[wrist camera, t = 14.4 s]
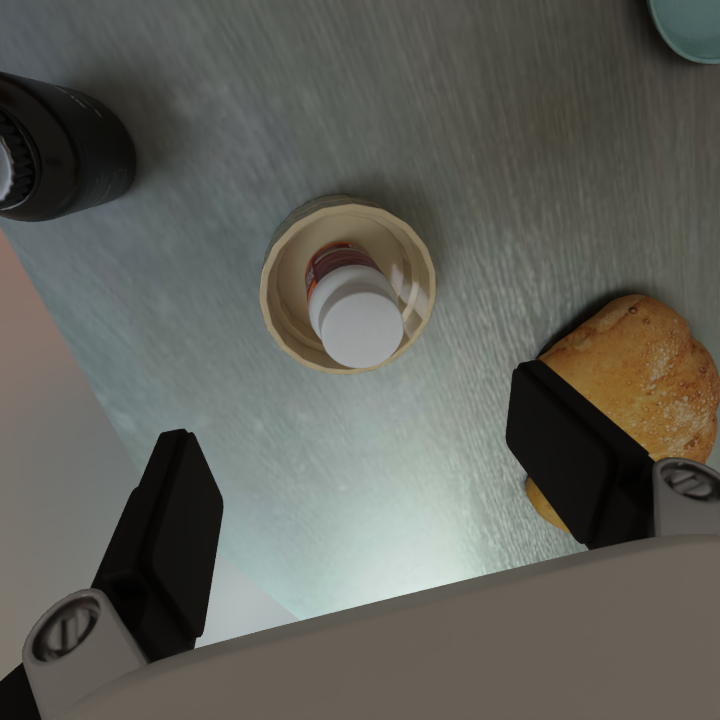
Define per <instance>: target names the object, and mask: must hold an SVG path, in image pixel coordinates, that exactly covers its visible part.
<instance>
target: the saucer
mask: <svg viewBox="0 0 720 720" xmlns="http://www.w3.org/2000/svg"><path fill="white" fill-rule="evenodd" d="M646 1H647V5H648V9H649V13H650V16H651V18H652V21H653V23H654V25H655V27H656V29H657V31H658V33H659V34H660V36H661V37H662V38H663V40H664V41H665V42H666V43H667V45H668V46H669V47H670V48H672V49H673V50H674V51H675V52H676V53H677V54H679V55H680V56H682V57H684V58H685V59H688V60H690V61H693V62H697V63H702V64H718V63H720V0H646Z"/></svg>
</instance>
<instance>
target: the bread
mask: <svg viewBox="0 0 720 720" xmlns="http://www.w3.org/2000/svg"><path fill="white" fill-rule="evenodd" d="M537 360H541V361H543V362H544V363H545V364H547V365H548V366H549V367H550V368H551V369H552V370H554V371H555V372H556V373H557V374H558V375H559V376H561V377H562V378H563V379H564V380H565V381H566V382H568V383H569V384H570V385H571V386H572V387H573V388H575V389H576V390H577V391H578V392H579V393H580V394H582V395H583V396H584V397H585V398H586V399H587V400H589V401H590V402H591V403H592V404H593V405H594V406H596V407H597V408H598V409H599V410H600V411H601V412H603V413H604V414H605V415H606V416H607V417H608V418H610V419H611V420H612V421H613V422H614V423H616V424H617V425H618V426H619V427H620V428H621V429H623V430H624V431H625V432H626V433H627V434H628V435H630V436H631V437H632V438H633V439H634V440H635V441H637V442H638V443H639V444H640V445H641V446H642V447H644V448H645V449H646V450H647V451H648V452H649V455H648V456H650V457H651V458H652V459H653V460H654V461H655V462H657V461H658V460H659V459H663V458H666V457H680V458H687V459H691V460H694V461H697V462H700V463H702V464H705V463H706V461H707V460H708V457H709V455H710V453H711V450H712V448H713V447H714V442H715V438H716V434H717V417H716V414H715V413H716V411H717V408H718V404H719V400H720V379H719V375H718V371H717V368H716V365H715V363H714V361H713V359H712V357H711V355H710V353H709V352H708V351H707V349H706V348H705V347H704V346H703V345H702V344H701V343H700V342H699V341H697V340H696V339H694V338H692V337H691V333H690V330H689V327H688V325H687V322H686V320H685V319H684V318H683V317H682V316H680V315H679V314H678V313H677V312H675V311H674V310H673V309H672V308H670V307H668V306H667V305H665V304H663V303H662V302H660V301H658V300H656V299H654V298H651V297H649V296H646V295H640V294H634V295H628V296H624V297H620V298H617V299H614V300H612V301H611V302H610V303H609V304H607V305H606V306H605V307H604V308H603V309H601V310H600V311H599V312H598V313H597V314H596V315H594V316H593V317H591V318H590V319H588V320H587V321H586V322H584V323H583V324H581V325H580V326H579V327H578V328H576V329H575V330H574V331H573V332H571V333H570V334H569V335H567V336H566V337H564V338H563V339H561V340H560V341H558V342H557V343H555V344H554V345H553V346H552V347H551V349H550V350H549V351H548V352H546V353H545V354H543V355H541V356H539V357H538V359H537ZM525 486H526V487H525V490H526V495H527V497H528V498H529V500H530V502H531V503H532V505H533V506H534V508H535V509H536V510H537V512H538V514H539V515H540V516H541V517H542V518H544V519H545V520H546V521H548V522H549V523H551V524H552V525H554V526H555V527H557V528H559V529H561V530H563V531H565V532H567V533H570V531H569V530H568V528H567V527H566V526H565V524H564V523H563V522H562V520H561V519H560V518H559V516H558V515H557V513H556V512H555V511H554V509H553V508H552V507H551V505H550V504H549V502H548V501H547V500H546V498H545V497H544V496H543V494H542V493H541V491H540V490H539V489H538V487H537V486H536V485H535V483H534V482H533V481H532V479H531V478H530V476H529V477H528V479H527V480H526V484H525ZM570 534H571V533H570Z"/></svg>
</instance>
